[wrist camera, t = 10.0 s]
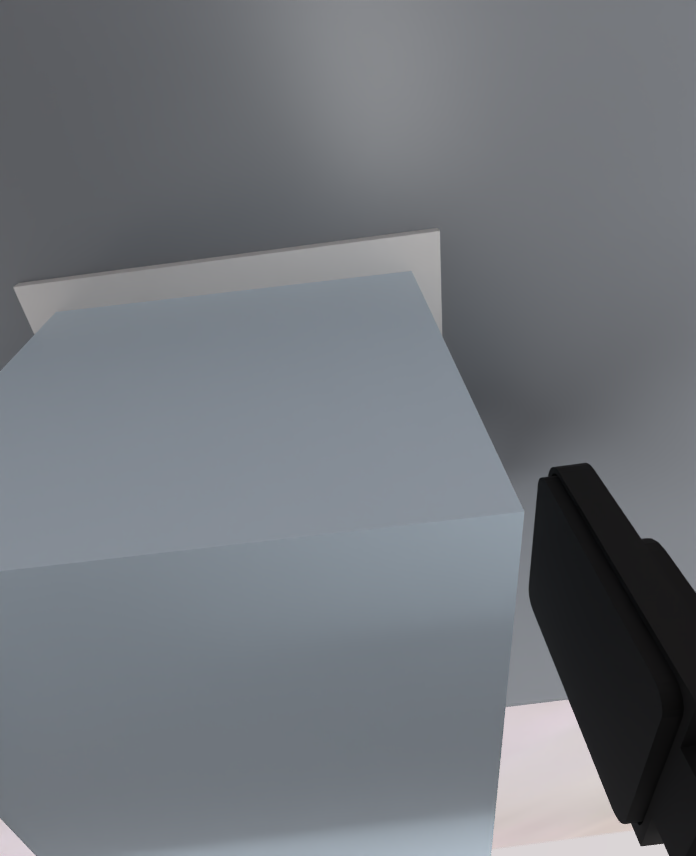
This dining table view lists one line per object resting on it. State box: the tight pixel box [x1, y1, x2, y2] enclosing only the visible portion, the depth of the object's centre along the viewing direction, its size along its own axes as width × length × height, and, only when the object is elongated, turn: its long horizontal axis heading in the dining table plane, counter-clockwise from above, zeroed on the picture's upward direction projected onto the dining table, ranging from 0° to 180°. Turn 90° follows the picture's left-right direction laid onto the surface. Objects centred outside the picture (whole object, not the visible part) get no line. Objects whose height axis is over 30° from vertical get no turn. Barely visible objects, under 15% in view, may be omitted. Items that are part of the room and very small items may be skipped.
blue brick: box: [0, 271, 524, 856], centre depth 9 cm, size 8×6×6 cm
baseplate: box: [0, 0, 696, 707], centre depth 12 cm, size 20×20×1 cm
